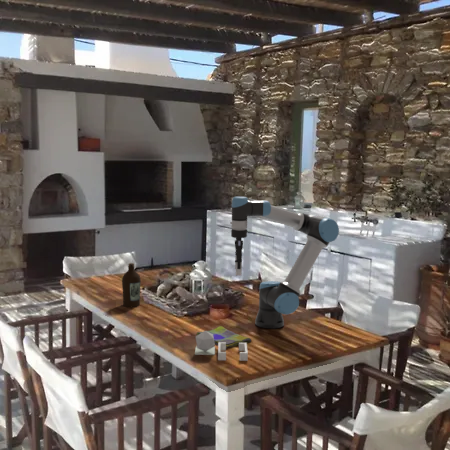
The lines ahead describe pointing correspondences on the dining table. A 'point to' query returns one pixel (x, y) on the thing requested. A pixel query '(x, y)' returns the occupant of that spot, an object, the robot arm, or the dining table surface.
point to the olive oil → (131, 287)
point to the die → (205, 341)
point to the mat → (208, 352)
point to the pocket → (241, 348)
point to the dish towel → (227, 337)
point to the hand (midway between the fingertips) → (238, 272)
